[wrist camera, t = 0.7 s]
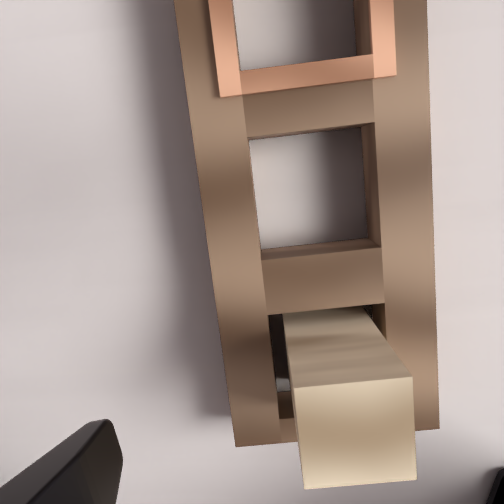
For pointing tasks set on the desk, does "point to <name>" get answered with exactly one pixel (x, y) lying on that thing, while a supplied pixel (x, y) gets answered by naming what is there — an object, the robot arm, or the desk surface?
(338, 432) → the maple peg
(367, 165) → the walnut hole board
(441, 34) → the desk surface
